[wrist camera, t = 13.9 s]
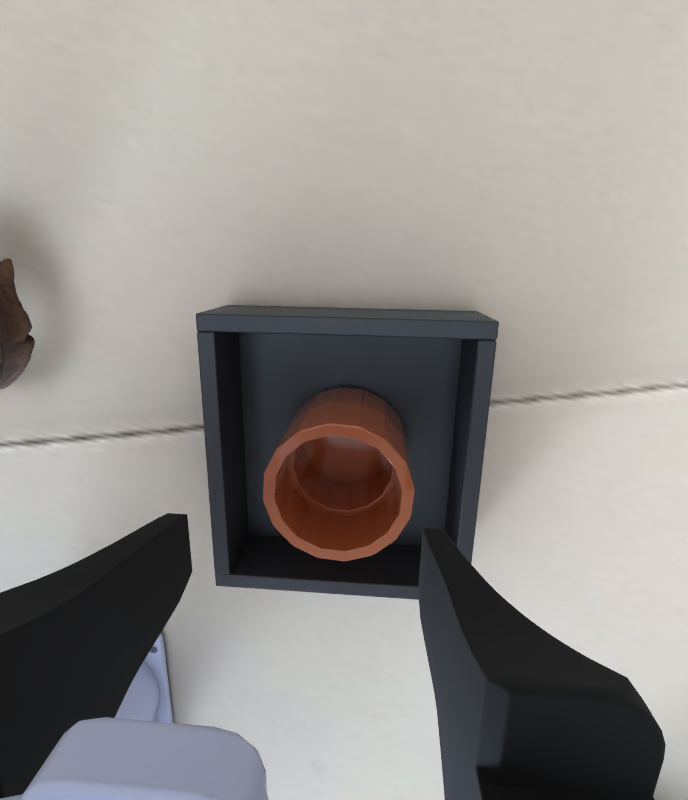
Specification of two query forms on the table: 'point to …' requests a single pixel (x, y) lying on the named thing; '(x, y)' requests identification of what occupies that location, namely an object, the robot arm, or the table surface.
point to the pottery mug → (12, 329)
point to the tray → (321, 371)
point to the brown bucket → (341, 476)
